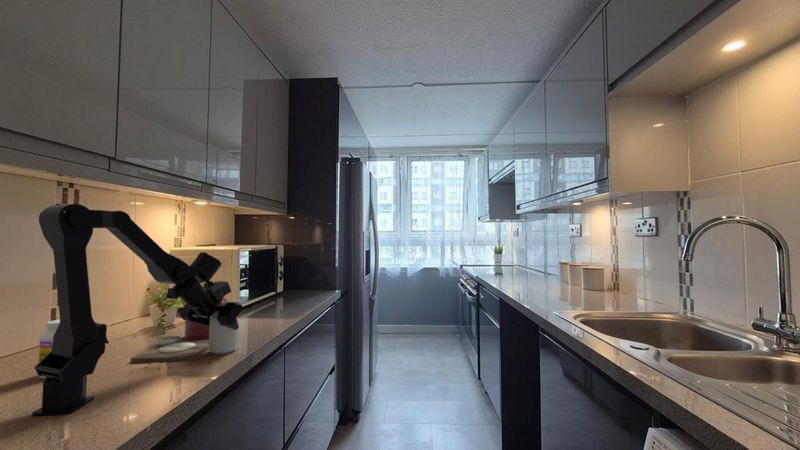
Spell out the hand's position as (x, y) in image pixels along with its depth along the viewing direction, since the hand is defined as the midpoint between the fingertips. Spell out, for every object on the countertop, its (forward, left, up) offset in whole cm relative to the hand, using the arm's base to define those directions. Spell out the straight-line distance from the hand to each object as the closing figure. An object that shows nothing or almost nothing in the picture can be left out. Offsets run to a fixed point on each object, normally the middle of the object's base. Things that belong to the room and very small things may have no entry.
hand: (227, 327), depth 105 cm
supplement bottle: (-14, +35, -7) cm, 38 cm away
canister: (+18, +13, -7) cm, 23 cm away
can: (-1, +1, -7) cm, 7 cm away
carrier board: (0, +14, -7) cm, 15 cm away
